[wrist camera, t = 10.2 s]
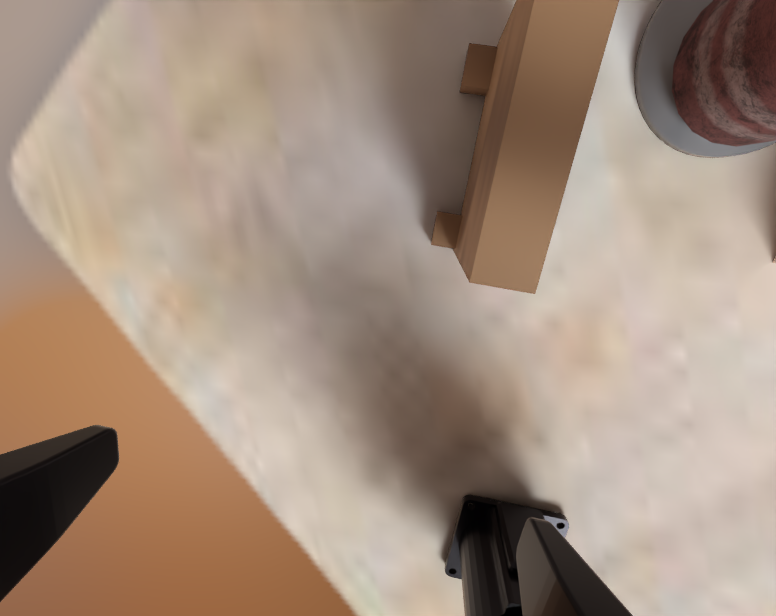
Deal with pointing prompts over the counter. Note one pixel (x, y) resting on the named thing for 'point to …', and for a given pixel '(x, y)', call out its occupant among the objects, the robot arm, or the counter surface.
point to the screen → (525, 137)
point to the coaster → (657, 76)
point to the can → (729, 73)
